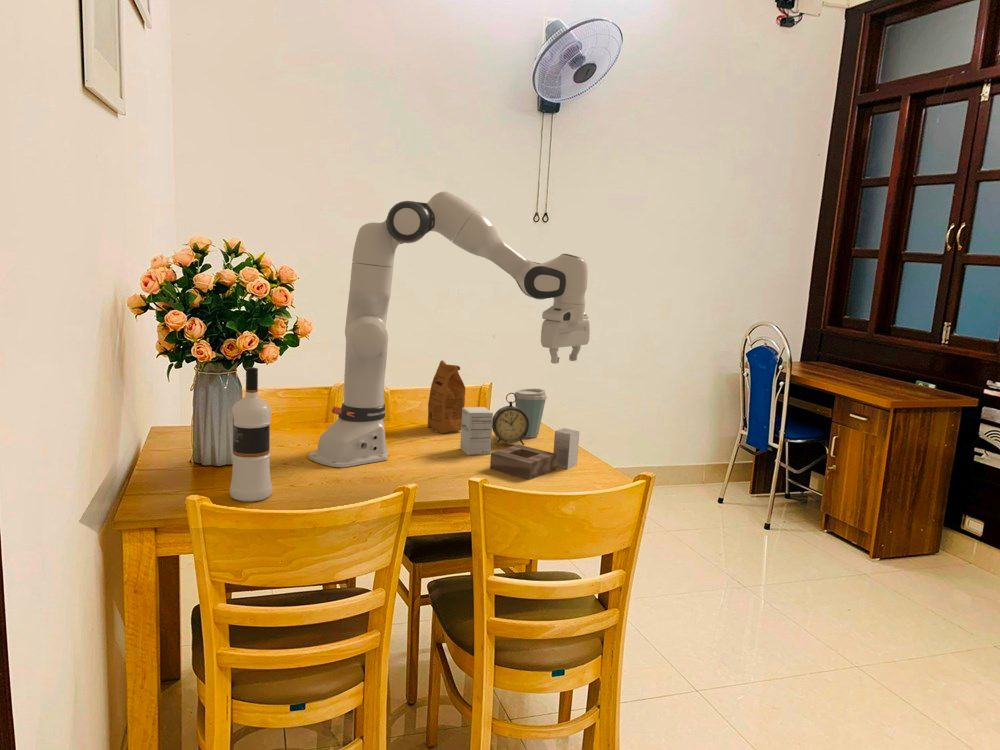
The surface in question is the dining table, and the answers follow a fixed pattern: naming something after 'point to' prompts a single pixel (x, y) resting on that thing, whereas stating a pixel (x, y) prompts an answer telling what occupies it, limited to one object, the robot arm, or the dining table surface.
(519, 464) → the pocket block
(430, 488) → the dining table surface
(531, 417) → the disposable coffee cup
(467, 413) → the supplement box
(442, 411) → the coffee package
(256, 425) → the vodka
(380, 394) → the robot arm
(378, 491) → the dining table surface
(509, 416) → the alarm clock
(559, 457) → the grey peg
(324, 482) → the dining table surface
